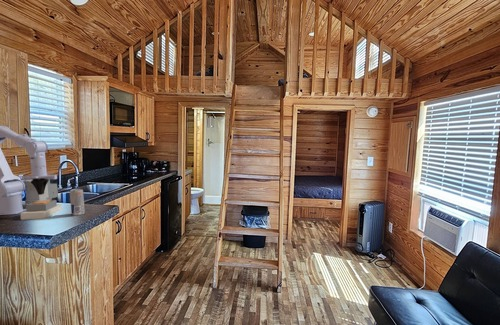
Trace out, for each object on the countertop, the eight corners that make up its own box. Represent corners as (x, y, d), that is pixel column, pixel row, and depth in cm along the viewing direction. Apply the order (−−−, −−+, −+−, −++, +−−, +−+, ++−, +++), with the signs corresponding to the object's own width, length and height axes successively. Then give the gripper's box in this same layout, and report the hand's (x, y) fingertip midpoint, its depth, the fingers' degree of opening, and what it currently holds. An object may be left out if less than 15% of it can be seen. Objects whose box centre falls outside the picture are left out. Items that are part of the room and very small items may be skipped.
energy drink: (75, 212, 130) (73, 189, 129) (86, 212, 130) (85, 188, 129) (69, 216, 125) (67, 191, 123) (81, 215, 125) (79, 191, 124)
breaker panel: (20, 219, 120) (19, 206, 119) (41, 210, 134) (39, 199, 133) (44, 218, 121) (43, 206, 120) (62, 209, 135) (61, 198, 134)
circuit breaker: (61, 202, 150) (58, 176, 149) (38, 209, 136) (36, 181, 135) (49, 202, 151) (46, 176, 150) (25, 209, 137) (22, 180, 135)
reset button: (32, 208, 124) (32, 203, 124) (39, 205, 129) (39, 200, 129) (44, 208, 125) (43, 203, 124) (50, 205, 130) (50, 200, 129)
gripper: (15, 167, 121) (18, 196, 122) (49, 167, 122) (52, 195, 124) (26, 165, 127) (29, 193, 129) (58, 165, 129) (61, 192, 131)
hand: (41, 194), depth 127 cm, fingers closed
